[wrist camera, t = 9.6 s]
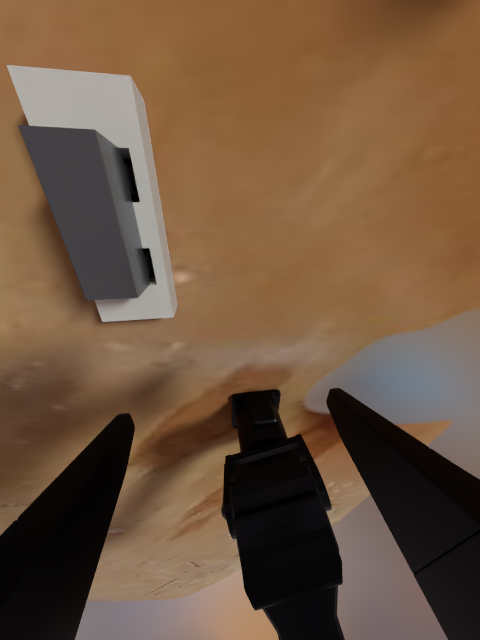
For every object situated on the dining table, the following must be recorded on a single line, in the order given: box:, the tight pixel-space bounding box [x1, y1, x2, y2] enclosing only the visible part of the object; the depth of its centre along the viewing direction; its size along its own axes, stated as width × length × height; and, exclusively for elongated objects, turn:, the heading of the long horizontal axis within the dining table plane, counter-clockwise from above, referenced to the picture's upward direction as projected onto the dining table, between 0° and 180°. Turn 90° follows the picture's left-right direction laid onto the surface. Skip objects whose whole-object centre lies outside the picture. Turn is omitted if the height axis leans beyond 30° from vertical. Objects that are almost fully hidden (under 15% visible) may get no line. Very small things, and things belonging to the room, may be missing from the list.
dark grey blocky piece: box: [18, 125, 154, 300], centre depth 13 cm, size 8×3×5 cm, turn 0°
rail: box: [7, 65, 178, 322], centre depth 14 cm, size 14×6×2 cm, turn 0°
